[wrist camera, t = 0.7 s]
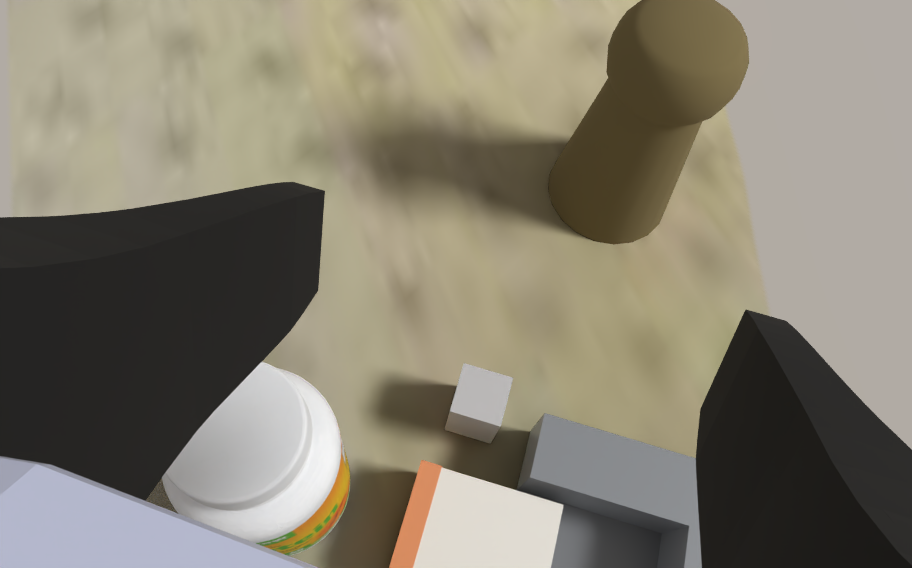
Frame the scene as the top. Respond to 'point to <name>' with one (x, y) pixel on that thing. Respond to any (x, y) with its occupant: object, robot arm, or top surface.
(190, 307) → the robot arm
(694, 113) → the cork
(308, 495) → the supplement bottle
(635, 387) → the top surface
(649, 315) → the top surface
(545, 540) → the orange-ended white block
